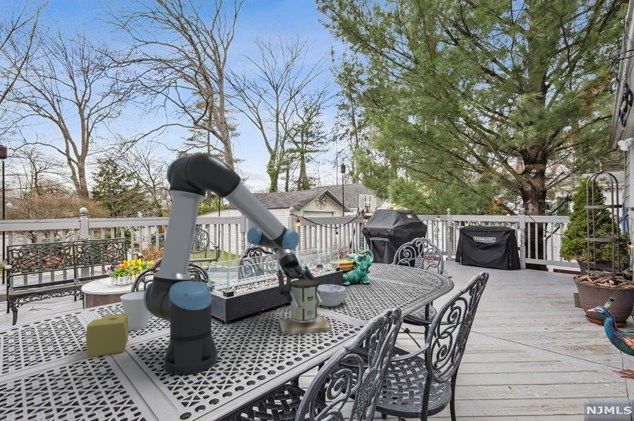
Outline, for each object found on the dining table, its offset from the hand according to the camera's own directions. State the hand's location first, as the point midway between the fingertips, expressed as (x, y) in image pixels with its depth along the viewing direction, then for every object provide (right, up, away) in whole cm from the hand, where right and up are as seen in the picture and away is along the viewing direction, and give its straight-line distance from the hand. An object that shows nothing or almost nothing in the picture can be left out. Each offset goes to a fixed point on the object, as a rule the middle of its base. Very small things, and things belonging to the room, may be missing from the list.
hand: (308, 306), depth 130 cm
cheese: (-65, -10, -17) cm, 68 cm away
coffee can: (-2, -6, +3) cm, 6 cm away
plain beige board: (-2, -9, +3) cm, 9 cm away
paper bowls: (+9, -8, +33) cm, 35 cm away
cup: (-66, -9, +3) cm, 67 cm away
